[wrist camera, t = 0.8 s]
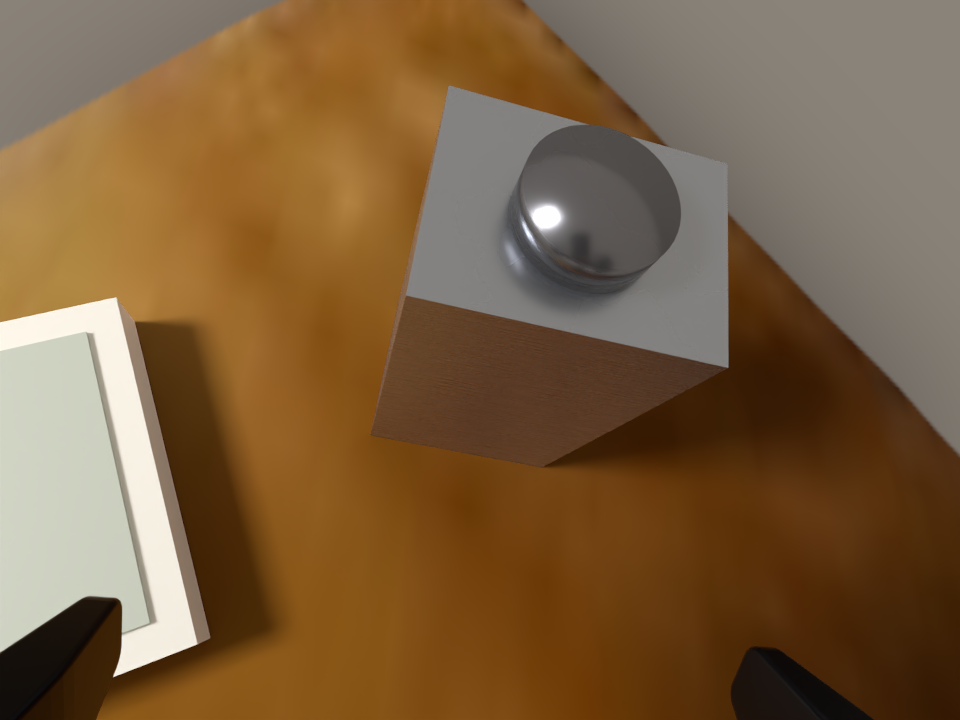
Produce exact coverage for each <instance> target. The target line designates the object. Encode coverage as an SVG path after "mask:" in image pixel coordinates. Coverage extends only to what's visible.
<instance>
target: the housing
mask: <svg viewBox="0 0 960 720" xmlns="http://www.w3.org/2000/svg"><path fill="white" fill-rule="evenodd" d="M727 179H728V175H727V164H726V163H722V162H719V161H716V160H712V159H708V158H705V157H701V156H698V155H694V154H690V153H687V152H683V151H680V150H676V149H673V148H669V147H666V146H662V145H659V144H655V143H652V142H648V141H644V140H641V139H637V138H634V137H630V136H628V135H626V134H624V133H622V132H619V131H617V130H614V129H611V128H607V127H603V126H597V125H588V124H584V123H580V122H577V121H573V120H570V119H566V118H563V117H559V116H555V115H552V114H548V113H545V112H541V111H538V110H534V109H531V108H527V107H523V106H520V105H516V104H513V103H509V102H506V101H502V100H499V99H495V98H491V97H488V96H484V95H481V94H477V93H474V92H470V91H467V90H463V89H459V88H456V87H452V86H449V87H448V92H447V96H446V100H445V105H444V109H443V113H442V118H441V122H440V126H439V130H438V135H437V139H436V143H435V148H434V152H433V156H432V161H431V165H430V169H429V174H428V178H427V182H426V186H425V191H424V195H423V199H422V204H421V208H420V212H419V217H418V221H417V225H416V230H415V234H414V238H413V242H412V247H411V251H410V255H409V260H408V264H407V268H406V273H405V277H404V281H403V286H402V290H401V294H400V298H399V303H398V307H397V311H396V316H395V321H394V326H393V331H392V335H391V340H390V345H389V350H388V354H387V359H386V364H385V369H384V374H383V378H382V383H381V388H380V393H379V397H378V402H377V407H376V412H375V417H374V421H373V426H372V431H371V435H372V436H377V437H382V438H388V439H393V440H398V441H404V442H409V443H414V444H420V445H425V446H430V447H436V448H441V449H446V450H452V451H457V452H462V453H468V454H473V455H478V456H484V457H489V458H494V459H500V460H505V461H510V462H516V463H521V464H526V465H532V466H537V467H544V466H546V465H548V464H549V463H551V462H553V461H555V460H557V459H559V458H561V457H563V456H564V455H566V454H568V453H570V452H572V451H574V450H576V449H577V448H579V447H581V446H583V445H585V444H587V443H589V442H591V441H592V440H594V439H596V438H598V437H600V436H602V435H604V434H606V433H607V432H609V431H611V430H613V429H615V428H617V427H619V426H621V425H622V424H624V423H626V422H628V421H630V420H632V419H634V418H636V417H637V416H639V415H641V414H643V413H645V412H647V411H649V410H651V409H652V408H654V407H656V406H658V405H660V404H662V403H664V402H666V401H667V400H669V399H671V398H673V397H675V396H677V395H679V394H681V393H682V392H684V391H686V390H688V389H690V388H692V387H694V386H696V385H697V384H699V383H701V382H703V381H705V380H707V379H709V378H711V377H712V376H714V375H716V374H718V373H720V372H722V371H724V370H726V369H727V368H728V185H727V184H728V183H727V182H728V180H727Z"/></svg>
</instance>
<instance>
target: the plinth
mask: <svg viewBox="0 0 960 720" xmlns="http://www.w3.org/2000/svg"><path fill="white" fill-rule="evenodd" d="M86 596H100V597H114V598H117V599H119V600H120V601H121V604H122V647H121V654H120V659H119V662H118V665H117V668H116V671H115V673H114V676H113V677H115V676H117V675H120V674H123V673H125V672H128V671H130V670H133V669H135V668H138V667H141V666H143V665H146V664H148V663H151V662H153V661H156V660H158V659H161V658H164V657H166V656H169V655H171V654H174V653H176V652H179V651H182V650H184V649H187V648H189V647H192V646H194V645H197V644H199V643H201V642H203V641H205V640H208V639H210V638H211V637H210V633H209V629H208V625H207V621H206V617H205V612H204V608H203V604H202V600H201V596H200V592H199V587H198V583H197V579H196V575H195V571H194V567H193V562H192V558H191V554H190V550H189V546H188V542H187V537H186V533H185V529H184V525H183V521H182V517H181V512H180V508H179V504H178V500H177V496H176V492H175V487H174V483H173V479H172V475H171V471H170V467H169V462H168V458H167V454H166V450H165V446H164V442H163V437H162V433H161V429H160V425H159V421H158V417H157V412H156V408H155V404H154V400H153V396H152V392H151V388H150V383H149V379H148V375H147V371H146V367H145V363H144V358H143V354H142V350H141V346H140V342H139V338H138V333H137V329H136V325H135V321H134V320H133V318H132V317H131V316H130V315H129V313H128V312H127V311H126V309H125V308H124V307H123V306H122V304H121V303H120V302H119V300H118V299H117V298H111V299H106V300H102V301H97V302H93V303H88V304H83V305H79V306H74V307H70V308H65V309H60V310H56V311H51V312H46V313H42V314H37V315H33V316H28V317H23V318H19V319H14V320H9V321H5V322H0V652H1V651H3V650H4V649H6V648H7V647H9V646H10V645H12V644H13V643H15V642H16V641H18V640H19V639H21V638H22V637H24V636H25V635H27V634H28V633H30V632H31V631H33V630H34V629H36V628H37V627H39V626H40V625H42V624H43V623H45V622H47V621H48V620H50V619H51V618H53V617H54V616H56V615H57V614H59V613H60V612H62V611H63V610H65V609H66V608H68V607H69V606H71V605H72V604H74V603H75V602H77V601H78V600H80V599H82V598H84V597H86Z"/></svg>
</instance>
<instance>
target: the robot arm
mask: <svg viewBox="0 0 960 720" xmlns="http://www.w3.org/2000/svg"><path fill="white" fill-rule="evenodd" d="M121 647H122V604H121V601H120V600H119V599H117V598H114V597H100V596H86V597H84V598H82V599H80V600H78V601H77V602H75V603H74V604H72V605H71V606H69V607H68V608H66V609H65V610H63V611H62V612H60V613H59V614H57V615H56V616H54V617H53V618H51V619H50V620H48V621H47V622H45V623H43V624H42V625H40V626H39V627H37V628H36V629H34V630H33V631H31V632H30V633H28V634H27V635H25V636H24V637H22V638H21V639H19V640H18V641H16V642H15V643H13V644H12V645H10V646H9V647H7V648H6V649H4V650H3V651H1V652H0V720H96V718H97V716H98V713H99V711H100V708H101V706H102V703H103V701H104V698H105V696H106V693H107V691H108V688H109V686H110V683H111V681H112V678H113V676H114V673H115V671H116V668H117V665H118V662H119V659H120V654H121ZM731 701H732V705H733V708H734V711H735V714H736V717H737V720H874V719H873V718H871V717H870V716H869V715H867V714H866V713H865V712H863V711H862V710H860V709H859V708H858V707H856V706H855V705H854V704H852V703H851V702H850V701H848V700H847V699H846V698H844V697H843V696H841V695H840V694H839V693H837V692H836V691H835V690H833V689H832V688H831V687H829V686H828V685H827V684H825V683H824V682H822V681H821V680H820V679H818V678H817V677H816V676H814V675H813V674H812V673H810V672H809V671H808V670H806V669H805V668H804V667H802V666H801V665H799V664H798V663H797V662H795V661H794V660H793V659H791V658H790V657H789V656H787V655H786V654H785V653H783V652H782V651H780V650H779V649H776V648H772V647H759V646H754V647H751V648H749V649H748V650H747V651H746V653H745V655H744V657H743V660H742V662H741V664H740V667H739V669H738V671H737V673H736V676H735V678H734V680H733V683H732V685H731Z"/></svg>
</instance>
